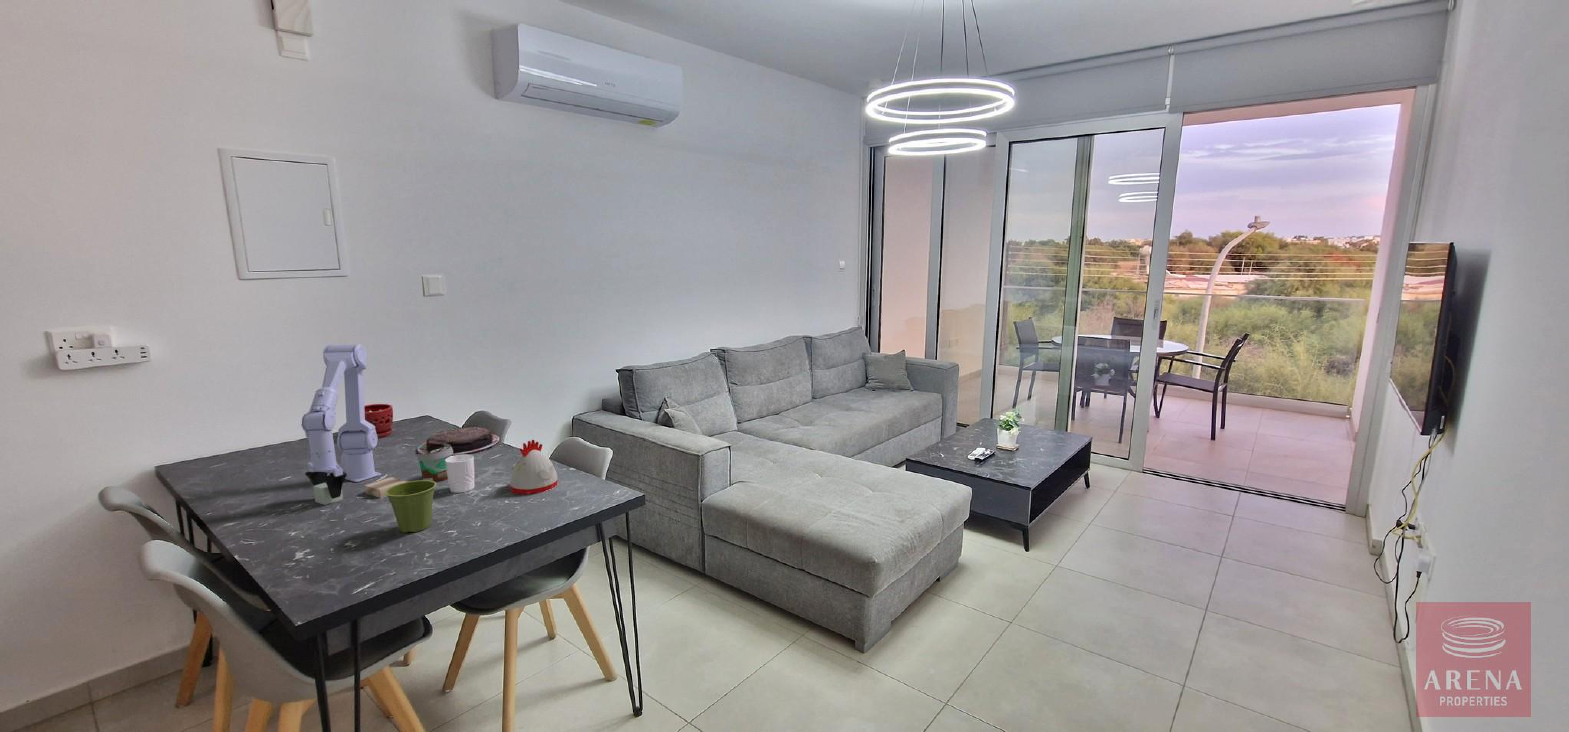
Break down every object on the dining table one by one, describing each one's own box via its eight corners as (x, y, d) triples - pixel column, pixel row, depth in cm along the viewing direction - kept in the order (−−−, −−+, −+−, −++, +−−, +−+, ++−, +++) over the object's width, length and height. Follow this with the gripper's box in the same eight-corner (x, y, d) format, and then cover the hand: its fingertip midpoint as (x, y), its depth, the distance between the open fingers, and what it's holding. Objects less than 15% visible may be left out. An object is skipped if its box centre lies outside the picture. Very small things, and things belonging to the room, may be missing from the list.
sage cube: (315, 502, 184) (313, 485, 183) (333, 496, 189) (331, 480, 188) (325, 505, 182) (322, 488, 181) (343, 499, 186) (341, 483, 185)
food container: (436, 486, 197) (433, 455, 195) (419, 484, 198) (416, 454, 196) (464, 472, 208) (461, 444, 207) (447, 471, 210) (445, 443, 208)
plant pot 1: (348, 440, 245) (344, 410, 243) (375, 430, 258) (371, 402, 256) (377, 441, 243) (374, 411, 241) (403, 432, 256) (400, 404, 254)
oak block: (365, 494, 191) (364, 485, 190) (392, 486, 198) (391, 477, 197) (381, 499, 187) (380, 489, 186) (407, 490, 194) (406, 481, 193)
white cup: (482, 486, 196) (479, 456, 194) (460, 495, 189) (456, 463, 187) (464, 482, 199) (461, 452, 198) (442, 491, 192) (439, 460, 191)
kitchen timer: (500, 489, 193) (496, 443, 191) (535, 475, 206) (532, 432, 203) (533, 497, 188) (529, 449, 185) (567, 482, 200) (564, 437, 197)
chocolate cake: (409, 446, 239) (407, 429, 237) (486, 432, 257) (484, 416, 256) (428, 464, 218) (426, 446, 217) (510, 447, 237) (509, 430, 236)
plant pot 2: (450, 520, 171) (446, 481, 169) (416, 539, 160) (411, 497, 158) (414, 516, 174) (410, 477, 172) (378, 534, 162) (373, 493, 160)
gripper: (293, 451, 182) (300, 495, 185) (321, 458, 176) (327, 504, 178) (320, 444, 188) (326, 487, 191) (348, 451, 182) (353, 495, 184)
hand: (328, 495), depth 185 cm, fingers open, 7 cm apart
